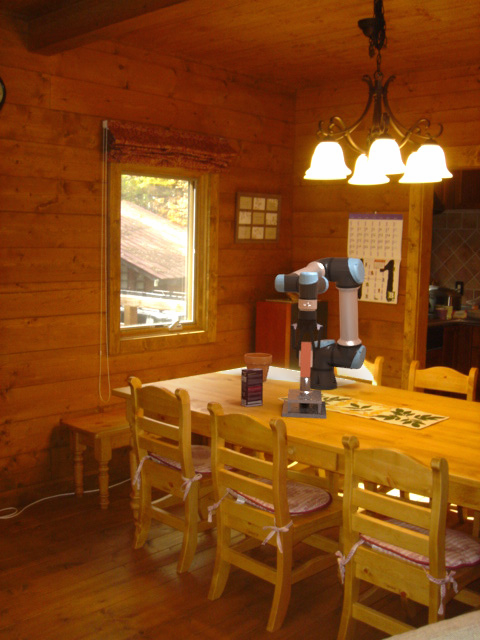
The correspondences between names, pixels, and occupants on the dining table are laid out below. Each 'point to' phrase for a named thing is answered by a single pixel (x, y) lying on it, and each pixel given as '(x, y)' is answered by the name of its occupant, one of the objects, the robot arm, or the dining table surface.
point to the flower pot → (258, 362)
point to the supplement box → (251, 387)
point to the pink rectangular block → (305, 359)
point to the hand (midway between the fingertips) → (305, 366)
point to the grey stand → (304, 402)
